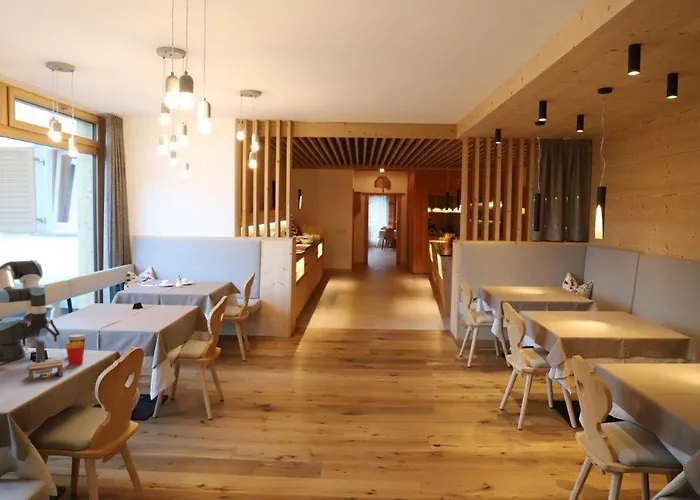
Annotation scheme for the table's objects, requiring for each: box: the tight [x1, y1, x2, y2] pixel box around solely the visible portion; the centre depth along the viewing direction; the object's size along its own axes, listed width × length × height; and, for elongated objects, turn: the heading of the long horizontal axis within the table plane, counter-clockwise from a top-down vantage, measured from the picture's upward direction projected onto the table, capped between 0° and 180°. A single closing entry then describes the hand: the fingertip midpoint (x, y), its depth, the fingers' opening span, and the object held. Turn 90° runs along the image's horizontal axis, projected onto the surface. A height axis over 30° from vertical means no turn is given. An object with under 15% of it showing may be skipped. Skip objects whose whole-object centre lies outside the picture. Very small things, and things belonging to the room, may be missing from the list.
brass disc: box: [38, 371, 53, 379], centre depth 280 cm, size 6×6×2 cm
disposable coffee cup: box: [68, 332, 87, 355], centre depth 319 cm, size 10×10×12 cm
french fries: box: [65, 341, 85, 366], centre depth 300 cm, size 9×4×13 cm, turn 118°
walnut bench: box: [27, 359, 64, 382], centre depth 279 cm, size 10×15×6 cm, turn 125°
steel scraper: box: [34, 340, 53, 374], centre depth 296 cm, size 22×8×12 cm, turn 35°
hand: (40, 349), depth 302 cm, fingers open, 13 cm apart
